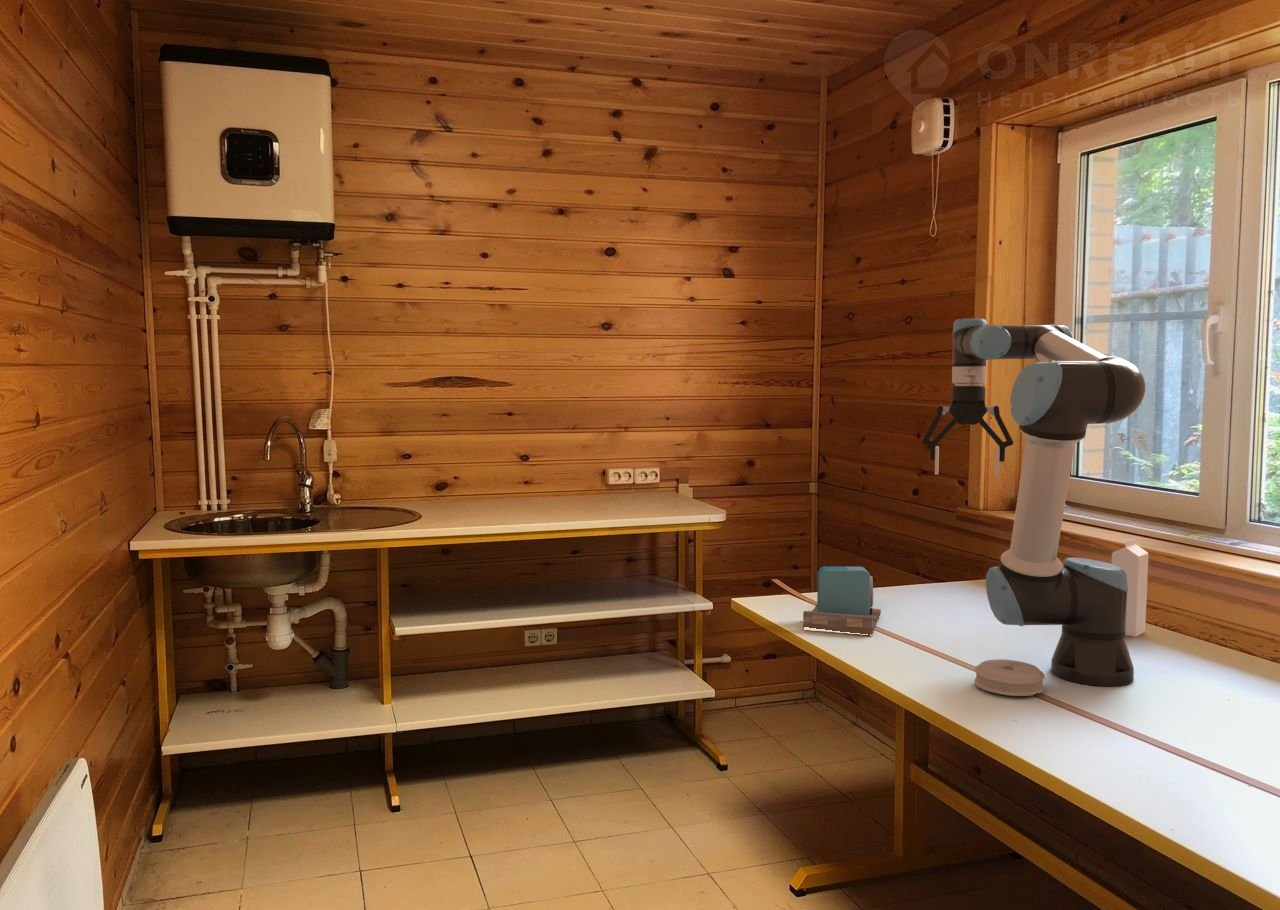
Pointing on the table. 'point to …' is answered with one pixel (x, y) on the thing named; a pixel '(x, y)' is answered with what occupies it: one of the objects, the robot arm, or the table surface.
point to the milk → (1134, 584)
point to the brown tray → (841, 621)
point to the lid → (1009, 677)
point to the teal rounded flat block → (843, 590)
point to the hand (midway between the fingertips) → (966, 474)
